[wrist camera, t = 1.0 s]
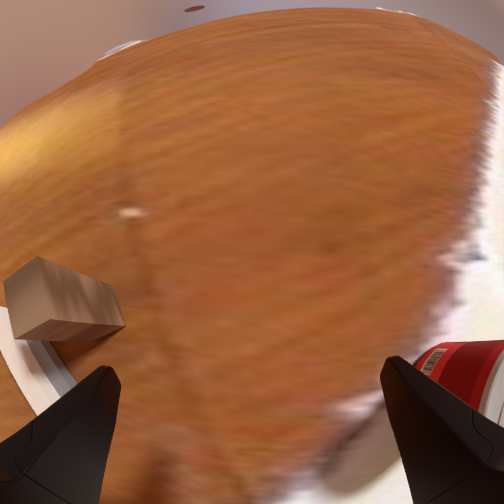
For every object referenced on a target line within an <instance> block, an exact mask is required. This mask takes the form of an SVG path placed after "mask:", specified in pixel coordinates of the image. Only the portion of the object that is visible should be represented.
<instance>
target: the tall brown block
mask: <svg viewBox="0 0 504 504" xmlns="http://www.w3.org/2000/svg"><path fill="white" fill-rule="evenodd" d="M3 283H4V291H5V297H6V303H7V309H8V314H9V319H10V324H11V328H12V333H13V337H14V339H15V340H37V341H94V340H96V339H99V338H101V337H103V336H105V335H107V334H110V333H112V332H114V331H116V330H118V329H121V328H123V327H125V326H126V324H125V321H124V319H123V316H122V313H121V311H120V308H119V305H118V302H117V299H116V296H115V293H114V290H113V287H112V285H110V284H107V283H104V282H101V281H98V280H96V279H93V278H90V277H88V276H85V275H82V274H80V273H77V272H75V271H72V270H69V269H67V268H64V267H62V266H59V265H57V264H55V263H52V262H50V261H47V260H45V259H43V258H40V257H38V256H37V257H35V258H34V259H33V260H31V261H30V262H29V263H27V264H26V265H24V266H23V267H22V268H20V269H19V270H18V271H16V272H15V273H14V274H12V275H11V276H10V277H9V278H7V279H6V280H5V281H3Z"/></svg>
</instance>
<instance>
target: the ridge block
mask: <svg viewBox="0 0 504 504" xmlns="http://www.w3.org/2000/svg"><path fill="white" fill-rule="evenodd" d="M0 350H1V353H2V355H3V357H4V359H5V361H6V363H7V365H8V367H9V369H10V371H11V373H12V375H13V376H14V378H15V380H16V382H17V384H18V385H19V387H20V389H21V391H22V392H23V394H24V396H25V397H26V399H27V401H28V402H29V404H30V405H31V407H32V408H33V410H34V411H35V413H36V414H37V416H38V415H39V414H41V413H42V412H43V411H44V410H46V409H47V408H48V407H49V406H51V405H52V404H53V403H54V402H56V401H57V400H58V399H59V398H61V397H62V396H63V395H64V394H66V393H67V392H68V391H69V390H71V389H72V388H73V387H74V386H76V385H77V382H76V381H75V380H74V378H73V377H72V375H71V374H70V373H69V371H68V370H67V368H66V367H65V365H64V364H63V362H62V361H61V359H60V358H59V356H58V355H57V353H56V351H55V350H54V348H53V347H52V345H51V343H50V342H49V341H37V340H15V339H14V337H13V333H12V328H11V324H10V319H9V314H8V309H7V308H5V307H0Z"/></svg>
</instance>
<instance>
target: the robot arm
mask: <svg viewBox="0 0 504 504" xmlns="http://www.w3.org/2000/svg"><path fill="white" fill-rule="evenodd" d="M380 381H381V385H382V390H383V394H384V398H385V403H386V408H387V412H388V417H389V420H390V423H391V426H392V429H393V432H394V436H395V439H396V442H397V445H398V449H399V452H400V455H401V459H402V462H403V466H404V469H405V473H406V476H407V480H408V484H409V488H410V492H411V496H412V500H413V504H504V427H502V426H500V425H498V424H497V423H495V422H493V421H492V420H490V419H488V418H487V417H485V416H484V415H482V414H481V413H479V412H478V411H476V410H475V409H474V408H471V406H469V405H468V404H466V403H465V402H464V401H462V400H461V399H459V398H458V397H457V396H455V395H454V394H452V393H451V392H449V391H448V390H447V389H445V388H444V387H442V386H441V385H440V384H438V383H437V382H435V381H434V380H432V379H431V378H430V377H428V376H427V375H425V374H424V373H423V372H421V371H420V370H418V369H417V368H415V367H414V366H413V365H411V364H410V363H408V362H407V361H406V360H404V359H403V358H401V357H400V356H392V357H388V358H387V359H386V361H385V363H384V366H383V368H382V371H381V374H380ZM120 391H121V383H120V381H119V379H118V377H117V375H116V373H115V371H114V369H113V368H112V367H110V366H100V367H98V368H97V369H96V370H95V371H93V372H92V373H91V374H90V375H88V376H87V377H86V378H84V379H83V380H82V381H81V382H79V383H78V384H77V385H76V386H74V387H73V388H72V389H71V390H69V391H68V392H67V393H66V394H64V395H63V396H62V397H61V398H59V399H58V400H57V401H56V402H54V403H53V404H52V405H51V406H49V407H48V408H47V409H46V410H44V411H43V412H42V413H41V414H39V415H38V416H37V417H36V418H34V419H33V421H31V422H29V423H28V424H27V425H26V426H24V427H23V428H22V429H20V430H19V431H18V432H16V433H15V434H13V435H12V436H10V437H9V438H7V439H6V440H4V441H3V442H1V443H0V504H99V499H100V493H101V488H102V482H103V477H104V472H105V467H106V463H107V458H108V454H109V449H110V445H111V441H112V437H113V433H114V428H115V424H116V417H117V410H118V404H119V397H120Z"/></svg>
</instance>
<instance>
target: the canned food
mask: <svg viewBox="0 0 504 504" xmlns="http://www.w3.org/2000/svg"><path fill="white" fill-rule="evenodd" d="M415 368H417V369H418V370H420V371H421V372H423V373H424V374H425V375H427V376H428V377H430V378H431V379H432V380H434V381H435V382H437V383H438V384H440V385H441V386H442V387H444V388H445V389H447V390H448V391H449V392H451V393H452V394H454V395H455V396H457V397H458V398H459V399H461V400H462V401H464V402H465V403H466V404H468V405H469V406H471V408H474V409H475V410H476V411H478V412H479V413H481V414H482V415H484V416H485V417H487V418H488V419H490V420H492V421H493V422H495V423H497V424H498V425H500V426H502V427H504V340H493V341H473V342H445V343H441V344H438V345H436V346H434V347H432V348H431V349H429V350H428V351H427V352H425V353H424V354H423V355H422V357H421V358H420V359H419V361H418V362H417V364H416V365H415Z"/></svg>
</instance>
